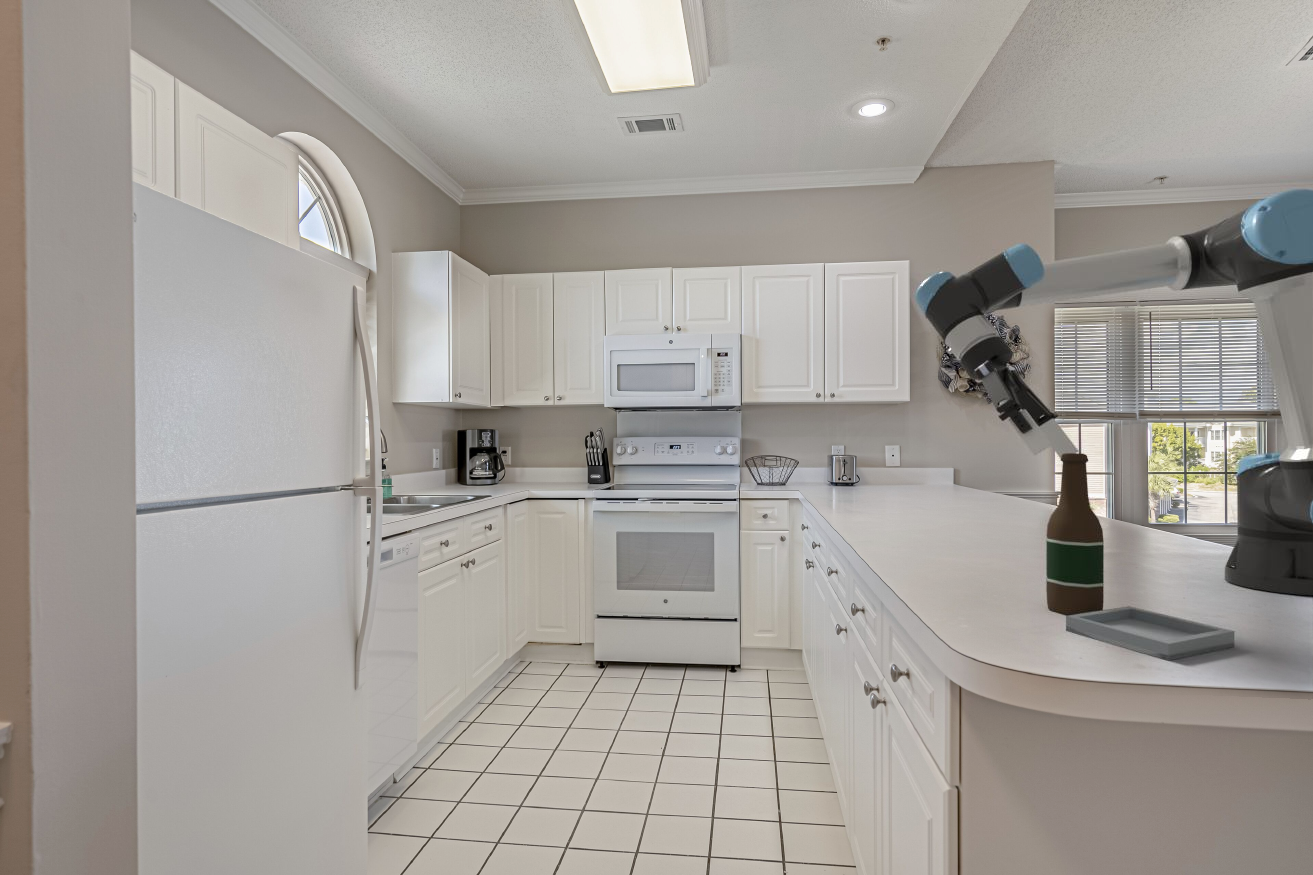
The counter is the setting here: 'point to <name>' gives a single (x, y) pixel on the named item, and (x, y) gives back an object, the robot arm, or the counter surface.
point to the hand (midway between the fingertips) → (1057, 453)
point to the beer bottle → (1074, 545)
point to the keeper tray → (1150, 632)
